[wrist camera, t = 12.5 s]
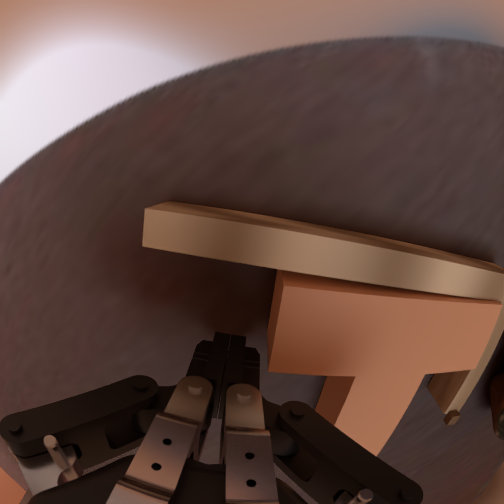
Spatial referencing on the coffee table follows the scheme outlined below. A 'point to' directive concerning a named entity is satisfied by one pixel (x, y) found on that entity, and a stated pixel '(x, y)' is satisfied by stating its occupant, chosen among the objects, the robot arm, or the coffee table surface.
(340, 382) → the T-block
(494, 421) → the decorative turtle
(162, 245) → the maple L-fence
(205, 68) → the coffee table surface
